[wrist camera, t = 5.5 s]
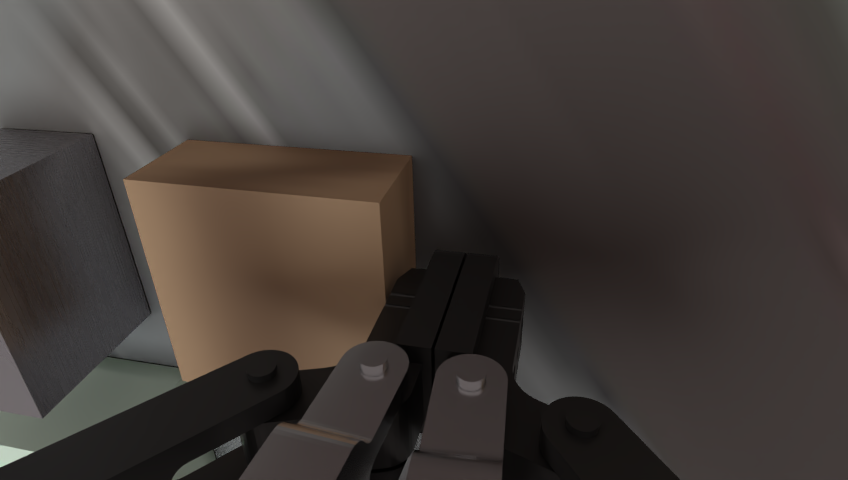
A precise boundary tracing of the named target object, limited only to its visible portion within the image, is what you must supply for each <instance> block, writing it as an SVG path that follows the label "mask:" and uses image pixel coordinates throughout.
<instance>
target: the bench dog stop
mask: <svg viewBox="0 0 848 480" xmlns="http://www.w3.org/2000/svg"><path fill="white" fill-rule="evenodd" d="M150 314H151V313H150V310H149V307H148V304H147V301H146V298H145V295H144V292H143V288H142V285H141V282H140V279H139V276H138V273H137V270H136V267H135V264H134V261H133V258H132V255H131V251H130V248H129V245H128V242H127V239H126V236H125V233H124V230H123V227H122V224H121V221H120V218H119V215H118V211H117V208H116V205H115V202H114V199H113V196H112V193H111V190H110V187H109V184H108V181H107V178H106V175H105V171H104V168H103V165H102V162H101V159H100V156H99V153H98V150H97V147H96V144H95V141H94V138H93V135H92V134H83V133H66V132H49V131H32V130H15V129H0V411H3V412H9V413H14V414H19V415H25V416H30V417H36V418H41V419H43V418H44V417H45V416H46V415H47V414H48V413H49V412H50V411H51V410H52V409H53V408H54V407H55V406H56V405H57V404H58V403H59V402H60V401H61V400H62V399H64V398H65V397H66V396H67V395H68V394H69V393H70V392H71V391H72V390H73V389H74V388H75V387H76V386H77V385H78V384H79V383H80V382H81V381H82V380H83V379H84V378H85V377H86V376H87V375H88V374H89V373H90V372H91V371H92V370H93V369H94V368H95V367H96V366H97V365H99V364H100V363H101V362H102V361H103V360H104V359H105V358H106V357H107V356H108V355H109V354H110V353H111V352H112V351H113V350H114V349H115V348H116V347H117V346H118V345H119V344H120V343H121V342H122V341H123V340H124V339H125V338H126V337H127V336H128V335H129V334H130V333H131V332H132V331H134V330H135V329H136V328H137V327H138V326H139V325H140V324H141V323H142V322H143V321H144V320H145V319H146V318H147V317H148V316H149V315H150Z"/></svg>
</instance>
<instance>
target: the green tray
mask: <svg viewBox="0 0 848 480" xmlns="http://www.w3.org/2000/svg"><path fill="white" fill-rule="evenodd" d="M185 383H187V381H182V377H181V374H180V371H179V368H176V367H169V366H163V365H156V364H149V363H143V362H136V361H130V360H123V359H117V358H110V357H106V358H105V359H104V360H103V361H102V362H101V363H100V364H99V365H97V366H96V367H95V368H94V369H93V370H92V371H91V372H90V373H89V374H88V375H87V376H86V377H85V378H84V379H83V380H82V381H81V382H80V383H79V384H78V385H77V386H76V387H75V388H74V389H73V390H72V391H71V392H70V393H69V394H68V395H67V396H66V397H65V398H64V399H62V400H61V401H60V402H59V403H58V404H57V405H56V406H55V407H54V408H53V409H52V410H51V411H50V412H49V413H48V414H47V415H46V416H45V417H44V418H43V419H41V418H36V417H30V416H25V415H19V414H14V413H9V412H3V411H0V467H2V466H5V465H7V464H9V463H11V462H13V461H16V460H18V459H20V458H22V457H24V456H27V455H29V454H31V453H33V452H35V451H38V450H40V449H42V448H44V447H46V446H49V445H51V444H53V443H55V442H57V441H60V440H62V439H64V438H66V437H68V436H70V435H73V434H75V433H77V432H79V431H81V430H84V429H86V428H88V427H90V426H92V425H95V424H97V423H99V422H101V421H103V420H106V419H108V418H110V417H112V416H114V415H117V414H119V413H121V412H123V411H125V410H128V409H130V408H132V407H134V406H136V405H139V404H141V403H143V402H145V401H147V400H150V399H152V398H154V397H156V396H158V395H161V394H163V393H165V392H167V391H169V390H172V389H174V388H176V387H178V386H180V385H183V384H185ZM214 460H216V457H215V454H214V451H213V450H211V451H209V452H207V453H206V454H204V455H202V456H200V457H198V458H196V459H194V460H192V461H190V462H188V463H187V464H185V465H184V466H182V467H181V468H180V469H179V470H178V471H177V472H176V473H175V475H174V476H173V478H172V480H177V479H180V478H182V477H184V476H186V475H188V474H190V473H192V472H193V471H195V470H197V469H199V468H201V467H203V466H205V465H206V464H208V463H210V462H212V461H214Z"/></svg>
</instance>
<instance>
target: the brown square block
mask: <svg viewBox="0 0 848 480" xmlns="http://www.w3.org/2000/svg"><path fill="white" fill-rule="evenodd" d="M123 181H124V184H125V188H126V191H127V195H128V198H129V201H130V205H131V208H132V212H133V215H134V218H135V222H136V225H137V228H138V232H139V235H140V239H141V242H142V245H143V249H144V252H145V256H146V259H147V262H148V266H149V269H150V272H151V276H152V279H153V283H154V286H155V289H156V293H157V296H158V300H159V303H160V306H161V310H162V313H163V316H164V320H165V323H166V327H167V330H168V333H169V337H170V340H171V344H172V347H173V350H174V354H175V357H176V361H177V364H178V367H179V371H180V374H181V377H182V381H187V382H189V381H191V380H194V379H196V378H198V377H200V376H202V375H205V374H207V373H209V372H211V371H213V370H216V369H218V368H220V367H222V366H224V365H227V364H229V363H231V362H233V361H235V360H238V359H240V358H242V357H244V356H246V355H249V354H251V353H254V352H258V351H262V350H280V351H284V352H287V353H289V354H290V355H292V356H293V357H294V358H295V359H296V361H297V363H298V366H299V370H306V369H317V368H326V367H332V366H336V365H337V364H338V362H339V361H340V359H341V358H342V356H343V355H344V354H345V353H346V352H347V351H348V350H349V349H351V348H352V347H354V346H356V345H358V344H361V343H364V342H366V341H367V339H368V337H369V335H370V333H371V331H372V329H373V327H374V325H375V323H376V321H377V319H378V317H379V315H380V313H381V311H382V309H383V307H384V306H385V303H386V301H387V299H388V297H389V295H391V291H392V289H393V287H394V285H395V283H396V281H397V279H398V278H399V277H401V276H402V275H403V274H405V273H406V272H407V271H409V270H410V269H411V268H416V255H415V227H414V198H413V170H412V156H410V155H396V154H382V153H368V152H354V151H340V150H325V149H311V148H297V147H283V146H269V145H255V144H241V143H227V142H213V141H199V140H186V141H185V142H183V143H182V144H180V145H178V146H177V147H175V148H173V149H172V150H170V151H168V152H167V153H165V154H164V155H162V156H160V157H159V158H157V159H155V160H154V161H152V162H151V163H149V164H147V165H146V166H144V167H142V168H141V169H139V170H137V171H136V172H134V173H133V174H131V175H129V176H128V177H126V178H124V179H123Z"/></svg>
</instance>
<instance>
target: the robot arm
mask: <svg viewBox="0 0 848 480" xmlns="http://www.w3.org/2000/svg"><path fill="white" fill-rule="evenodd" d="M498 275H499V257H498V256H489V255H480V254H470V253H468V254H466V253H460V252H450V251H441V250H435V252H434V254H433V256H432V259H431V261H430V263H429V265H428V268H427V270H425V269H416V268H411V269H410V270H409V271H407V272H406V273H405V274H403V275H402V276H401V277H399V278H398V279H397V281H396V283H395V285H394V287H393V289H392V291H391V295H389V297H388V299H387V301H386V303H385V306H384V307H383V309H382V311H381V313H380V315H379V317H378V319H377V321H376V323H375V325H374V327H373V329H372V331H371V333H370V335H369V337H368V339H367V341H366V342H364V343H361V344H358V345H356V346H354V347H352V348H351V349H349V350H348V351H347V352H346V353H345V354H344V355H343V356H342V358H341V359H340V361H339V362H338V364H337V365H336V366H332V367H326V368H317V369H306V370H299V366H298V363H297V361H296V359H295V358H294V357H293V356H292V355H290V354H289V353H287V352H284V351H280V350H262V351H258V352H254V353H251V354H249V355H246V356H244V357H242V358H240V359H238V360H235V361H233V362H231V363H229V364H227V365H224V366H222V367H220V368H218V369H216V370H213V371H211V372H209V373H207V374H205V375H202V376H200V377H198V378H196V379H194V380H191V381H189V382H187V383H185V384H183V385H180V386H178V387H176V388H174V389H172V390H169V391H167V392H165V393H163V394H161V395H158V396H156V397H154V398H152V399H150V400H147V401H145V402H143V403H141V404H139V405H136V406H134V407H132V408H130V409H128V410H125V411H123V412H121V413H119V414H117V415H114V416H112V417H110V418H108V419H106V420H103V421H101V422H99V423H97V424H95V425H92V426H90V427H88V428H86V429H84V430H81V431H79V432H77V433H75V434H73V435H70V436H68V437H66V438H64V439H62V440H60V441H57V442H55V443H53V444H51V445H49V446H46V447H44V448H42V449H40V450H38V451H35V452H33V453H31V454H29V455H27V456H24V457H22V458H20V459H18V460H16V461H13V462H11V463H9V464H7V465H5V466H2V467H0V480H172V478H173V476H174V475H175V473H176V472H177V471H178V470H179V469H180V468H181V467H182V466H184V465H185V464H187V463H188V462H190V461H192V460H194V459H196V458H198V457H200V456H202V455H204V454H206V453H207V452H209V451H211V450H213V449H215V448H217V447H219V446H221V445H223V444H225V443H226V442H228V441H230V440H232V439H234V438H236V437H238V436H240V438H241V442H242V446H240V447H238V448H236V449H234V450H233V451H231V452H229V453H227V454H225V455H223V456H221V457H220V458H218V459H216V460H214V461H212V462H210V463H208V464H206V465H205V466H203V467H201V468H199V469H197V470H195V471H193V472H192V473H190V474H188V475H186V476H184V477H182V478H180V479H177V480H680V479H679V478H678V477H677V476H676V475H675V474H674V473H673V472H672V471H671V470H670V469H669V468H668V467H667V466H666V465H665V464H664V463H663V462H662V461H661V460H660V459H659V458H658V457H657V456H656V455H655V454H654V453H653V452H652V451H651V450H650V449H649V448H648V447H647V446H646V445H645V444H644V442H643V441H642V440H641V439H640V438H639V437H638V436H637V435H636V434H635V433H634V432H633V431H632V430H631V429H630V428H629V427H628V426H627V425H626V424H625V423H624V422H623V421H622V420H621V419H620V418H619V417H618V416H617V415H616V414H615V413H614V412H613V411H612V410H611V409H610V408H608V407H607V406H605V405H604V404H602V403H600V402H598V401H595V400H592V399H589V398H584V397H565V398H561V399H558V400H556V401H554V402H552V403H551V404H550V405H547V404H545V403H543V402H540V401H538V400H536V399H534V398H532V397H531V396H529V395H528V394H526V393H525V392H524V391H523V390H522V389H521V388H520V387H519V386H518V384H517V383H516V374H517V369H518V362H519V356H520V350H521V342H522V328H523V315H524V301H525V293H524V291H523V289H522V287H521V285H520V283H519V281H518V280H515V279H506V278H498ZM419 433H423V434H422V439H421V444H420V448H419V450H414V448H415V445H416V442H417V439H418V435H419ZM413 450H414V451H413Z"/></svg>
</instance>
